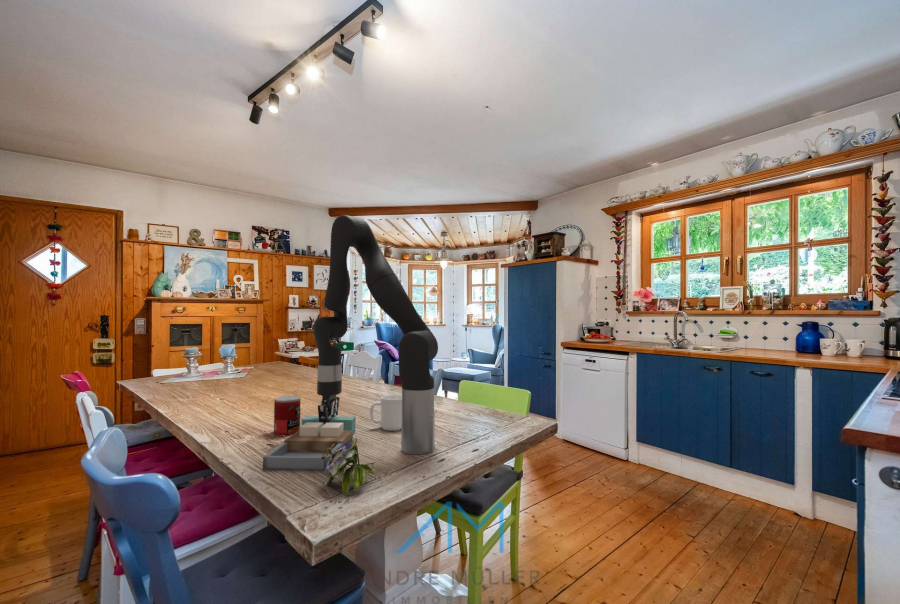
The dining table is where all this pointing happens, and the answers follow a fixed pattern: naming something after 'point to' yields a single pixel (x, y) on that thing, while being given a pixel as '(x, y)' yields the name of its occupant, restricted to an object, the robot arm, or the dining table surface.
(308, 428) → the tile
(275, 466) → the tray
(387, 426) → the cup
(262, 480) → the dining table surface
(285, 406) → the canned food
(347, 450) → the passion flower
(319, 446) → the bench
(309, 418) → the teal rectangular block
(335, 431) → the tile
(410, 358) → the robot arm
